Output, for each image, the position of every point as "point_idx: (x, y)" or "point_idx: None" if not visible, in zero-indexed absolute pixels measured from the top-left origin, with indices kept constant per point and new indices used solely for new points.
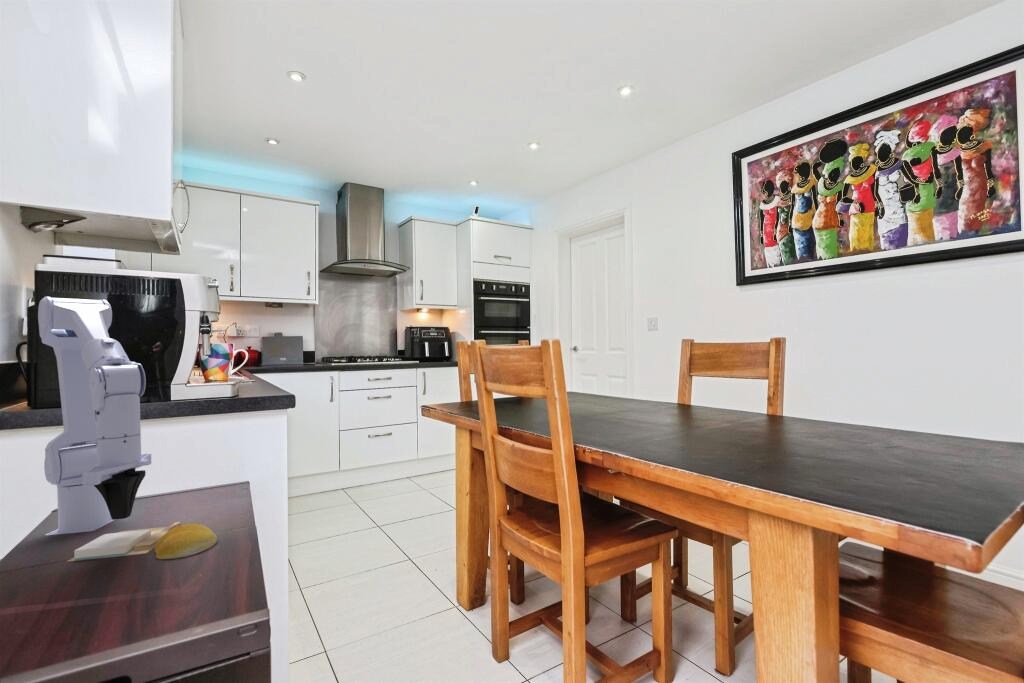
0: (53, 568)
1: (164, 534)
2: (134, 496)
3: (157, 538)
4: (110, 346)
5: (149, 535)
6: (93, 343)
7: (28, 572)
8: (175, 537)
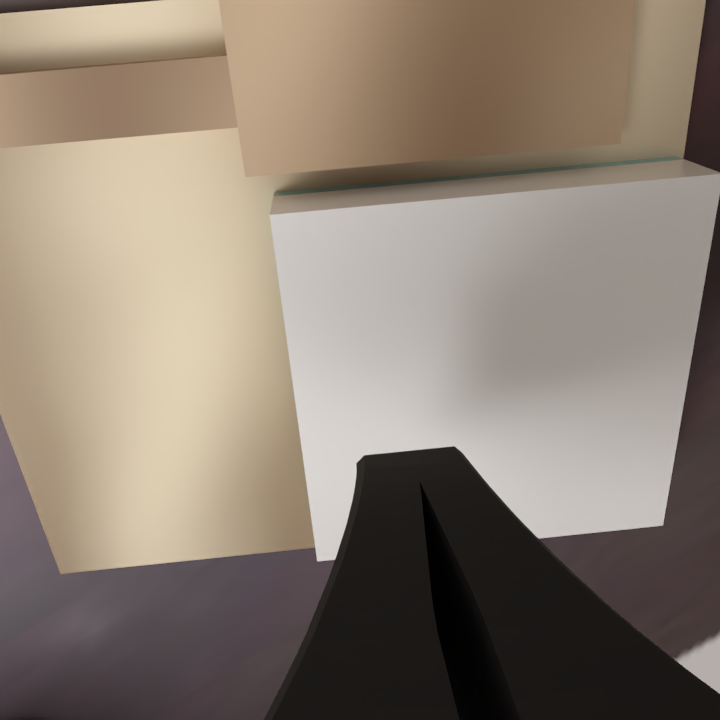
0: (638, 537)
1: None
2: (360, 614)
3: (452, 11)
4: None
5: (295, 199)
6: None
7: (647, 618)
8: None
